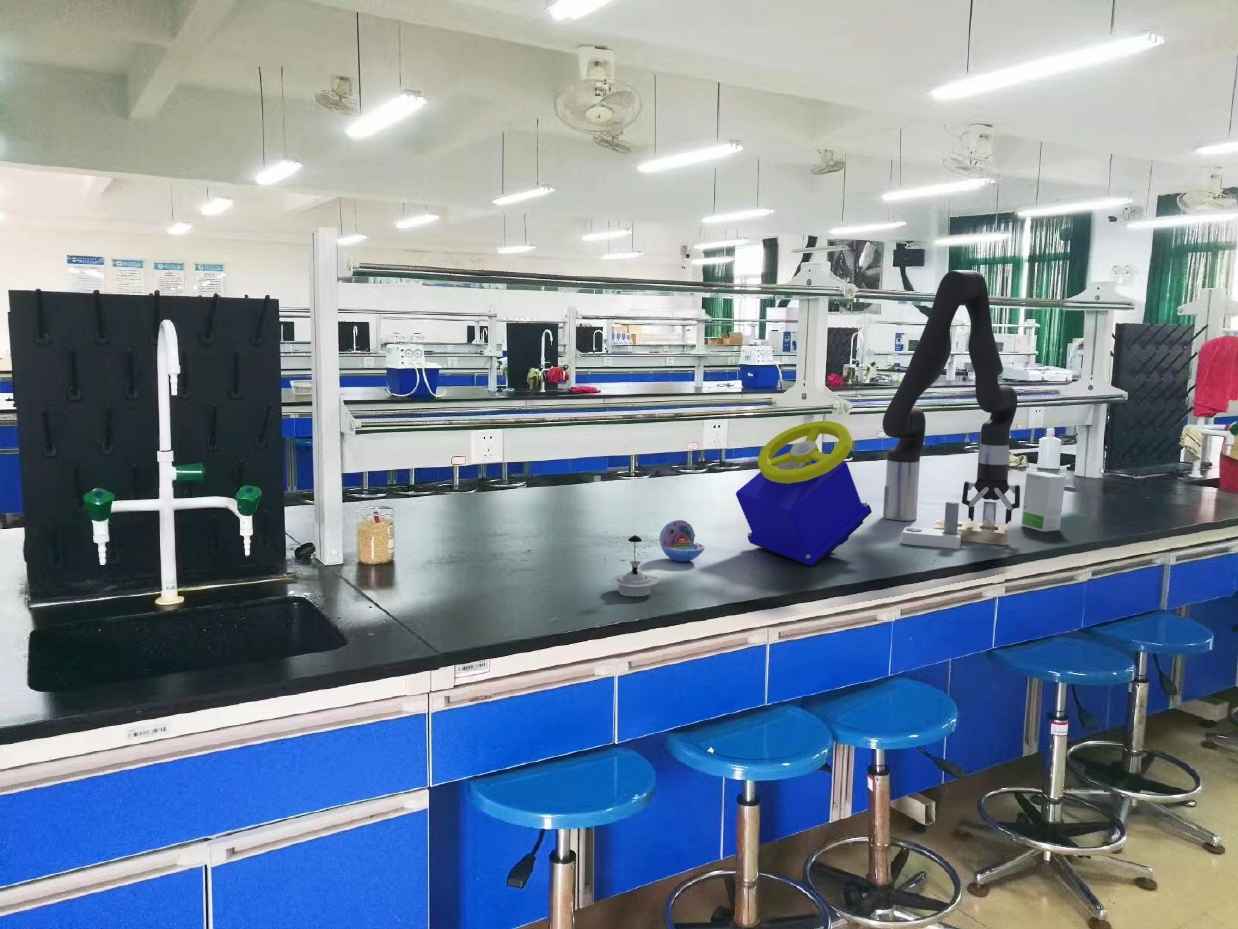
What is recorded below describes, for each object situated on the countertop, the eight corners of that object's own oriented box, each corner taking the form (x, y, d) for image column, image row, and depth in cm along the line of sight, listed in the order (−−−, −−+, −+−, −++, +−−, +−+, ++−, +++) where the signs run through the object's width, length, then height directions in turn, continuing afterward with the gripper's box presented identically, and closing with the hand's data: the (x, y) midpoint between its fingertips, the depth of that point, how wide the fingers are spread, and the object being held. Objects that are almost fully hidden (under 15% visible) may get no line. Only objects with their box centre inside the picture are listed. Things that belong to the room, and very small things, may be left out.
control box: (824, 505, 239) (788, 411, 226) (904, 529, 217) (869, 427, 204) (757, 564, 230) (716, 470, 217) (834, 595, 208) (793, 493, 195)
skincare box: (1020, 526, 257) (1024, 472, 255) (1037, 524, 259) (1041, 471, 257) (1044, 532, 249) (1048, 476, 247) (1062, 530, 252) (1066, 475, 250)
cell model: (679, 569, 207) (679, 528, 205) (650, 558, 217) (651, 518, 215) (714, 563, 212) (714, 523, 210) (684, 553, 222) (685, 515, 220)
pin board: (933, 538, 240) (933, 527, 240) (936, 529, 251) (936, 519, 251) (1006, 545, 233) (1007, 533, 233) (1006, 535, 244) (1007, 525, 244)
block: (901, 543, 234) (904, 502, 232) (904, 537, 241) (907, 497, 240) (959, 549, 228) (962, 506, 227) (960, 542, 236) (963, 501, 234)
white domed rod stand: (662, 539, 181) (655, 529, 191) (613, 540, 180) (608, 530, 190) (662, 599, 183) (655, 585, 193) (612, 600, 182) (608, 586, 192)
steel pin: (981, 539, 240) (983, 502, 238) (981, 537, 243) (983, 500, 241) (994, 540, 238) (996, 503, 237) (994, 538, 241) (996, 501, 240)
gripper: (963, 461, 237) (960, 522, 239) (1023, 464, 231) (1018, 527, 234) (965, 458, 244) (961, 517, 246) (1022, 461, 238) (1018, 521, 240)
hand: (989, 521), depth 240 cm, fingers open, 8 cm apart
